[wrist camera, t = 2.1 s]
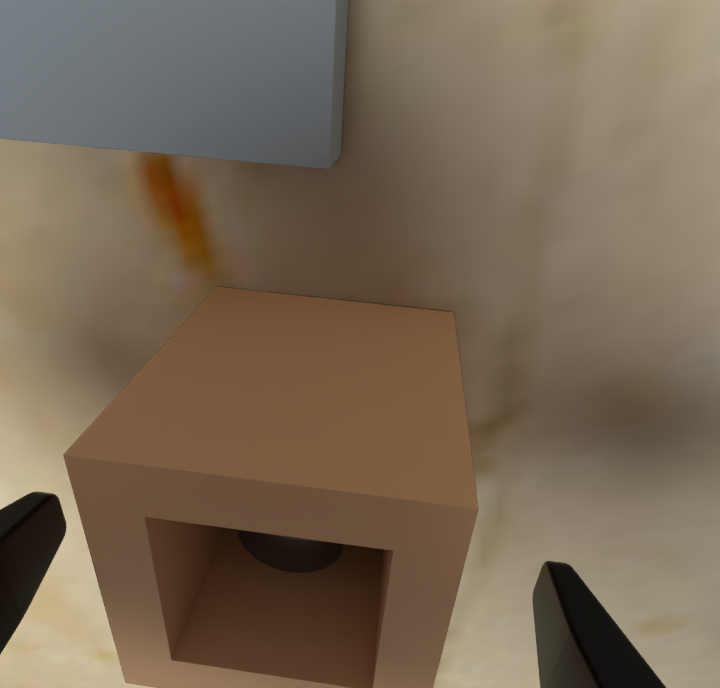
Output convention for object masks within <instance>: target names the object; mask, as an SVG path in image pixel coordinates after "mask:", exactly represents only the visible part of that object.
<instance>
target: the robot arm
mask: <svg viewBox="0 0 720 688" xmlns="http://www.w3.org/2000/svg"><path fill="white" fill-rule="evenodd" d="M65 533H66V521H65V518H64V514H63V511H62V507H61V504H60V501H59V498H58V497H57V496H56V495H55V494H51V493H44V492H32V493H30V494H28V495H26V496H24V497H22V498H20V499H19V500H17V501H15V502H13V503H11V504H10V505H8V506H6V507H4V508H3V509H1V510H0V654H1V652H2V651H3V649H4V648H5V646H6V644H7V643H8V641H9V640H10V638H11V636H12V635H13V633H14V632H15V630H16V628H17V627H18V625H19V623H20V622H21V620H22V618H23V617H24V615H25V613H26V611H27V609H28V607H29V606H30V604H31V602H32V600H33V598H34V596H35V594H36V592H37V590H38V588H39V586H40V584H41V582H42V580H43V578H44V576H45V574H46V572H47V570H48V568H49V566H50V564H51V562H52V560H53V558H54V556H55V554H56V552H57V550H58V548H59V546H60V544H61V542H62V540H63V538H64V536H65ZM533 611H534V622H535V633H536V644H537V655H538V666H539V677H540V687H541V688H666V687H665V685H664V684H663V683H662V682H661V680H660V679H659V678H658V677H657V675H656V674H655V673H654V671H653V670H652V669H651V668H650V666H649V665H648V664H647V662H646V661H645V660H644V659H643V657H642V656H641V655H640V653H639V652H638V651H637V650H636V648H635V647H634V646H633V645H632V643H631V642H630V641H629V639H628V638H627V637H626V636H625V634H624V633H623V632H622V630H621V629H620V628H619V627H618V625H617V624H616V623H615V621H614V620H613V619H612V618H611V616H610V615H609V614H608V613H607V611H606V610H605V609H604V607H603V606H602V605H601V604H600V602H599V601H598V600H597V598H596V597H595V596H594V595H593V593H592V592H591V591H590V589H589V588H588V587H587V586H586V584H585V583H584V582H583V580H582V579H581V578H580V577H579V575H578V574H577V573H576V572H575V570H574V569H573V568H572V567H571V566H570V565H568V564H566V563H561V562H553V561H546V562H545V563H544V564H543V566H542V569H541V571H540V574H539V577H538V580H537V582H536V585H535V588H534V591H533Z"/></svg>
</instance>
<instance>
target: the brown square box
mask: <svg viewBox="0 0 720 688" xmlns="http://www.w3.org/2000/svg"><path fill="white" fill-rule="evenodd" d="M63 456H64V459H65V463H66V467H67V470H68V474H69V478H70V481H71V485H72V489H73V492H74V496H75V500H76V503H77V507H78V511H79V514H80V518H81V522H82V525H83V529H84V533H85V536H86V540H87V544H88V547H89V551H90V555H91V558H92V562H93V566H94V569H95V573H96V577H97V580H98V584H99V588H100V591H101V595H102V599H103V602H104V606H105V610H106V613H107V617H108V621H109V624H110V628H111V632H112V635H113V639H114V643H115V646H116V650H117V654H118V657H119V661H120V665H121V668H122V672H123V676H124V679H125V683H130V684H137V685H143V686H149V687H156V688H433V685H434V681H435V678H436V674H437V670H438V666H439V662H440V658H441V654H442V650H443V646H444V642H445V638H446V634H447V630H448V627H449V623H450V619H451V615H452V611H453V607H454V603H455V599H456V595H457V591H458V587H459V583H460V579H461V576H462V572H463V568H464V564H465V560H466V556H467V552H468V548H469V544H470V540H471V536H472V532H473V528H474V525H475V521H476V517H477V513H478V501H477V493H476V486H475V478H474V470H473V462H472V454H471V446H470V438H469V430H468V422H467V414H466V407H465V399H464V391H463V383H462V375H461V367H460V359H459V351H458V343H457V336H456V328H455V320H454V312H446V311H437V310H428V309H418V308H409V307H400V306H391V305H382V304H372V303H363V302H354V301H345V300H336V299H326V298H317V297H308V296H299V295H290V294H281V293H271V292H262V291H253V290H244V289H235V288H225V287H216V288H215V289H214V290H213V291H212V293H211V294H210V295H209V296H208V297H207V298H206V299H205V300H204V301H203V302H202V304H201V305H200V306H199V307H198V308H197V309H196V310H195V311H194V312H193V313H192V314H191V316H190V317H189V318H188V319H187V320H186V321H185V322H184V323H183V324H182V325H181V327H180V328H179V329H178V330H177V331H176V332H175V333H174V334H173V335H172V336H171V337H170V339H169V340H168V341H167V342H166V343H165V344H164V345H163V346H162V347H161V348H160V350H159V351H158V352H157V353H156V354H155V355H154V356H153V357H152V358H151V359H150V360H149V362H148V363H147V364H146V365H145V366H144V367H143V368H142V369H141V370H140V371H139V373H138V374H137V375H136V376H135V377H134V378H133V379H132V380H131V381H130V382H129V383H128V385H127V386H126V387H125V388H124V389H123V390H122V391H121V392H120V393H119V394H118V395H117V397H116V398H115V399H114V400H113V401H112V402H111V403H110V404H109V405H108V406H107V408H106V409H105V410H104V411H103V412H102V413H101V414H100V415H99V416H98V417H97V418H96V420H95V421H94V422H93V423H92V424H91V425H90V426H89V427H88V428H87V429H86V431H85V432H84V433H83V434H82V435H81V436H80V437H79V438H78V439H77V440H76V441H75V443H74V444H73V445H72V446H71V447H70V448H69V449H68V450H67V451H66V452H65V454H64V455H63ZM237 530H245V531H252V532H259V533H267V534H274V535H281V536H289V537H296V538H303V539H311V540H318V541H325V542H333V543H340V544H344V546H343V550H342V553H341V554H340V556H339V557H338V559H337V560H336V561H335V562H334V563H332V564H331V565H329V566H328V567H326V568H323V569H321V570H318V571H313V572H306V573H294V572H287V571H282V570H278V569H275V568H272V567H270V566H268V565H266V564H264V563H262V562H260V561H259V560H257V559H256V558H254V557H253V556H252V555H251V554H250V553H249V552H248V551H247V550H246V549H245V548H244V546H243V545H242V543H241V541H240V539H239V536H238V532H237Z"/></svg>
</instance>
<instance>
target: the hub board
mask: <svg viewBox="0 0 720 688" xmlns="http://www.w3.org/2000/svg"><path fill="white" fill-rule="evenodd" d="M348 3H349V0H0V138H1V139H12V140H23V141H33V142H44V143H54V144H65V145H76V146H86V147H97V148H108V149H118V150H129V151H139V152H150V153H161V154H171V155H182V156H193V157H203V158H214V159H224V160H235V161H246V162H256V163H267V164H278V165H288V166H299V167H309V168H320V169H330V168H331V167H332V166H333V164H334V163H335V162H336V161H337V160H338V159H339V158H340V156H341V143H342V123H343V103H344V83H345V63H346V43H347V23H348Z"/></svg>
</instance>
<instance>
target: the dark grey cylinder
mask: <svg viewBox="0 0 720 688" xmlns="http://www.w3.org/2000/svg"><path fill="white" fill-rule="evenodd" d="M237 532H238V536H239V539H240V541H241V543H242V545H243V546H244V548H245V549H246V550H247V551H248V552H249V553H250V554H251V555H252V556H253V557H254V558H256V559H257V560H259V561H260V562H262V563H264V564H266V565H268V566H270V567H272V568H275V569H278V570H282V571H287V572H294V573H306V572H313V571H318V570H321V569H323V568H326V567H328V566H329V565H331V564H332V563H334V562H335V561H336V560H337V559H338V557H339V556H340V554H341V553H342V550H343V546H344V544H340V543H333V542H325V541H318V540H311V539H303V538H296V537H289V536H281V535H274V534H267V533H259V532H252V531H245V530H237Z"/></svg>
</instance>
